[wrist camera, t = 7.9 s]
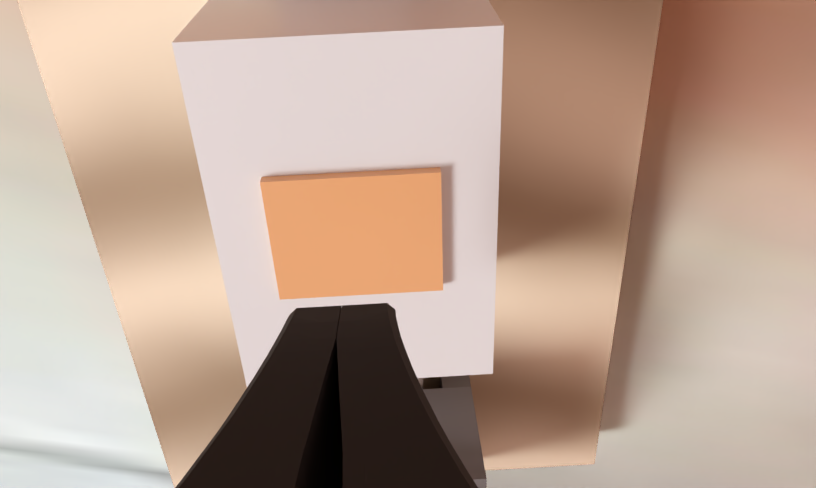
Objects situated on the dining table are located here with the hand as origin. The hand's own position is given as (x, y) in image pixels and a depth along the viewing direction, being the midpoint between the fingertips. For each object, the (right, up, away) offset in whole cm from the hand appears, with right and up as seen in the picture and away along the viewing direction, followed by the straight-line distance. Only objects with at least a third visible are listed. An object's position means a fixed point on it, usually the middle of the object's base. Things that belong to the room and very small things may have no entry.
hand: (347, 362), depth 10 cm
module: (0, +4, +6) cm, 7 cm away
